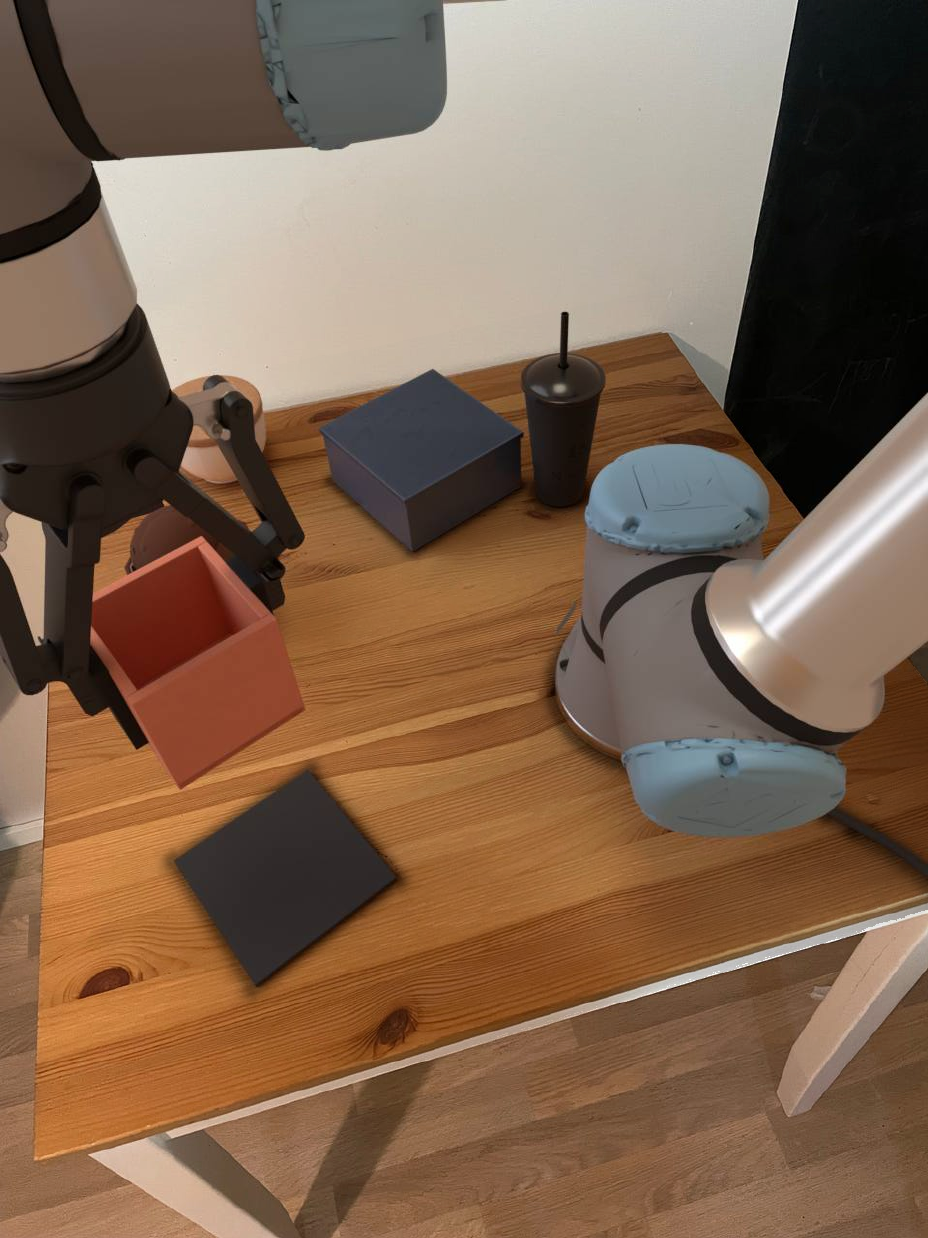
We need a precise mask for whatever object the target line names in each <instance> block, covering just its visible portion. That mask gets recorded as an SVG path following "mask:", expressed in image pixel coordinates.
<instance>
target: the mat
mask: <svg viewBox="0 0 928 1238" xmlns="http://www.w3.org/2000/svg"><path fill="white" fill-rule="evenodd" d="M173 863H174V864H175V865H176V867H177V868H178V870H179V871H180V873H181V874H182V876H183V877H184V879H185V881H186V882H187V884H188V885H189V886H190V888H191V889H192V891H193V893H194V894H195V896H196V897H197V899H198V900H199V902H200V903H201V905H202V907H203V908H204V909H205V911H206V913H207V914H208V916H209V917H210V919H211V921H212V922H213V923H214V925H215V926H216V928H217V929H218V931H219V932H220V934H221V935H222V937H223V938H224V941H225V942H226V943H227V944H228V946H229V948H230V950H231V951H232V952H233V954H234V955H235V957H236V959H237V960H238V962H239V963H240V964H241V966H242V969H244V971H245V973H246V974H247V975H248V977H249V978H250V980H251V982H252V983H253V985H254V987H259V986H260V985H261V984H262V983H264V982H265V981H266V980H267V979H269V978H271V976H273V975H274V974H276V972H278V971H279V970H281V969H282V968H283V967H285V966H286V965H287V964H288V963H290V962H291V961H293V960H294V959H295V958H296V957H297V956H299V955H300V954H301V953H303V952H304V951H306V950H307V949H308V948H309V947H311V946H312V945H313V944H314V943H316V942H317V941H319V940H320V939H321V938H322V937H324V936H325V935H327V934H328V933H329V932H330V931H332V930H333V929H334V928H335V927H337V926H338V925H339V924H341V923H342V922H343V921H345V920H346V919H347V918H349V917H350V916H351V915H352V914H354V913H355V912H356V911H358V910H359V909H360V908H361V907H363V906H365V905H366V904H367V903H368V902H369V901H371V900H372V899H373V898H375V897H376V896H377V895H379V894H380V893H381V892H382V891H384V890H385V889H387V888H388V887H389V886H390V885H392V884H393V883H394V882H396V881H397V880H398V879H397V876H396V874H395V873H394V872H393V871H392V870H391V868H389V866H388V865H387V863H386V862H385V861H384V860H383V859H382V857H381V856H380V855H379V854H378V852H377V851H376V850H375V849H374V848H373V847H372V845H371V844H370V843H369V841H368V840H367V839H366V838H365V837H364V836H363V835H362V834H361V832H360V831H359V829H358V828H357V826H355V824H354V823H353V822H352V821H351V820H350V819H349V818H348V816H347V815H346V814H345V813H344V812H343V810H342V809H341V808H340V806H339V805H338V804H337V802H335V800H334V799H333V798H332V797H331V796H330V794H329V793H328V792H327V790H325V788H324V787H323V786H322V784H321V783H320V782H319V781H318V780H317V778H316V777H315V776H314V775H313V773H312V772H311V771H310V770H309V769H306V770H304V771H303V772H302V773H300V774H299V775H297V776H296V777H294V778H293V779H291V780H290V781H289V782H287V783H285V784H284V785H283V786H281V787H280V788H278V789H277V790H275V791H273V792H272V793H271V794H269V795H268V796H266V797H265V798H263V799H262V800H261V801H259V802H257V803H256V804H254V805H253V806H252V807H250V808H249V809H247V810H246V811H244V812H242V814H240V815H238V816H237V817H235V818H234V819H233V820H231V821H230V822H228V823H226V824H225V825H223V826H222V827H220V828H219V829H218V830H216V831H214V832H213V833H212V834H211V835H209V836H208V837H206V838H205V839H203V840H202V841H200V842H199V843H196V845H194V846H192V847H191V848H189V849H188V850H187V851H185V852H184V853H182V854H181V855H179V856H178V857H176V858H175V859H174V860H173Z"/></svg>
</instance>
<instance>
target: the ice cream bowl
mask: <svg viewBox="0 0 928 1238" xmlns="http://www.w3.org/2000/svg"><path fill="white" fill-rule="evenodd" d="M237 520H238V521H240V522H241V523H242V524H243V525H244V526H245V527H247V528H248V529H249V530H250V528H249V526H248V524H247V522H246V521H242V520H240V519H237ZM200 536H202V537H203V538H204V539H205V540H206V541H207V542H208V543H209V544H210V545H211V547H212V548H213V549H214V550H215V551H216V552H217V553H218V554H219V555H220V557H221V558H222V559H223V560H224V561H225V560H226V559H227V558H229V557H231V556H233V555H235V554H234V553H233V552H232V551H230V550H229V549H228V548H226V547H225V546H224V545H223V544H221V543H220V542H219V541H218V540H216V539H215V538H214V537H213V536H211V535H210V534H209V533H207V532H206V531H205V530H204V529H202V528H201V527H200V526H199V525H197V524H196V523H195V522H194V521H192V520H191V519H190V518H188V517H185V516H184V515H183V514H181V513H180V512H179V511H177V510H176V509H175V508H174V507H172V506H171V505H170V504H168V505H164V507H162V508H160V509H158V510H156V511H154V512H152V513H150V514H147V515H145V517H144V518H143V519H142V520H141V521H140V523H139V524H138V526H136V528H135V529H134V530H133V535H132V537H131V540H130V545H129V548H130V549H129V554H130V556H129V558H128V560H127V561H126V563H125V565H124V567H123V568H124V571H125V573H126V576H127V575H129V574H131V573H132V572H134V571H136V570H138V569H140V568H142V567H144V566H146V565H148V564H149V563H151V562H153V561H155V560H157V559H159V558H161V557H163V556H165V555H166V554H168V553H170V552H172V551H174V550H176V549H178V548H180V547H182V546H183V545H185V544H187V543H189V542H191V541H193V540H195V539H197V538H199V537H200Z"/></svg>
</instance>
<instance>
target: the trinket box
mask: <svg viewBox="0 0 928 1238" xmlns="http://www.w3.org/2000/svg"><path fill="white" fill-rule="evenodd" d="M219 375H220V376H223V377H224V378H225V379H226V380H227V381H228V382H229V383H230V384H232V385H233V386H234V387H235V388H236V389H237V390H238V391H239V392H241V393H242V394H243V395H244V396H245V397H246V398H247V399H248V400H249V401H250V402H251V403H252V406H253V414H254V427H255V440H256V441H257V443H258V445H259V447H260V449H261V451H262V453H264V450H265V447H266V442H267V421H266V417H265V412H264V408H263V400H262V397H261V393H260V391H259V390H258V388H257V387H256V386H255V385H254V384H253V383H251V382H250V381H248V380H246V379H244V378H241V377H238V376H234V375H224V374H219ZM210 376H211V375H208V376H207V375H206V376H201V377H198V378H195V379H191V380H188V381H185V382H184V383H181V384H180V385H177V386H176V387H174V388H173V389H171V390H172V392H174V393H175V394H176V395H177V396H178V398H179V397H182V396H186V395H189V394H193V393H196V392H200V391H203V385H204V382H205V381H206V380H207V379H208V378H209V377H210ZM181 467H182V469H183V470H185V471H186V472H187V473H189V474H191V475H192V476H194V477H197V478H200V479H202V480H205V482H208V483H212V484H217V485H218V484H220V485H221V484H230V483H234V482H238V480H237V478H236V476H235V475H234V473H233V471H232V469H231V468H230V466H229V464H228V462H227V461H226V459H225V457H224V455H223V454H222V452H221V450H220V448H219V447H218V445H217V443H216V441H215V440H214V439H211V438H209V437H208V436H207V435H206V434H205V433H204V432H203V431H202V430H201V429H200V428H199V427H198V426H196V425H195V426H193V430H192V433H191V436H190V439H189V442H188V445H187V448H186V451H185V454H184V457H183V460H182V463H181V466H180V468H181Z"/></svg>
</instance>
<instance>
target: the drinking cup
mask: <svg viewBox="0 0 928 1238" xmlns="http://www.w3.org/2000/svg"><path fill="white" fill-rule="evenodd" d="M569 322H570V313H569V311H562V312H561V313H560V333H559V335H560V336H559V341H560V342H559V352H557V353H556V352H555V353H549V354H545V355H543V356H540V357H536V358H535V359H533V360H531V361H530V362H528V363H527V364H526V365H525V367H523V369H522V370H521V371H522V372H521V373H520V379H519V381H520V382H519V383H520V387H521V390H522V392H523V393H524V400H525V409H526V411H525V412H526V418H527V419H526V420H527V427H528V436H529V437H528V438H529V444H530V452H531V453H530V454H531V461H532V471H533V479H534V487H535V489H534V490H535V494H536V497H537V499H538V500H540V502H542V503H544V504H545V505H548V506H551V507H556V508H557V507H558V508H561V507H563V508H564V507H568V506H572V505H574V504H575V503H577V502H579V501H580V500H581V498H582V497H583V495H584V492H585V485H586V480H587V474H588V468H589V463H590V457H591V451H592V446H593V440H594V435H595V429H596V424H597V423H596V422H597V417H598V412H599V406H600V400H601V396H602V395H601V394H602V393H603V391H604V390H605V386H606V381H607V379H606V378H607V376H606V372H605V371H604V369H603V367H602V365H600V364H599V363H598V362H596V361H595V360H594V359H592V358H590V357H587V356H585V355H582V354H577V353H572V352H569V351H568V349H569V324H570V323H569Z"/></svg>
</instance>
